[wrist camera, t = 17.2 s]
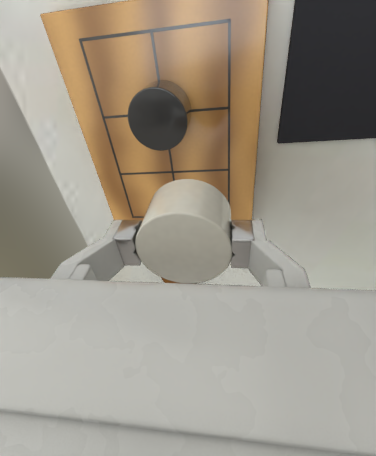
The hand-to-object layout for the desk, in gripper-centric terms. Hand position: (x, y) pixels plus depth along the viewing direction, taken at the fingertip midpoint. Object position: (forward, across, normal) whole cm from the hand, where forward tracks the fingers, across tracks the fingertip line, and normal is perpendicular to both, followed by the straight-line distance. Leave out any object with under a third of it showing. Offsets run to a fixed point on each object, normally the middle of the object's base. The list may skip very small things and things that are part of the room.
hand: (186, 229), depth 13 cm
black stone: (+12, +3, -3) cm, 13 cm away
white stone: (+1, 0, 0) cm, 1 cm away
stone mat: (+14, -12, -6) cm, 20 cm away
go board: (+14, +3, 0) cm, 14 cm away
